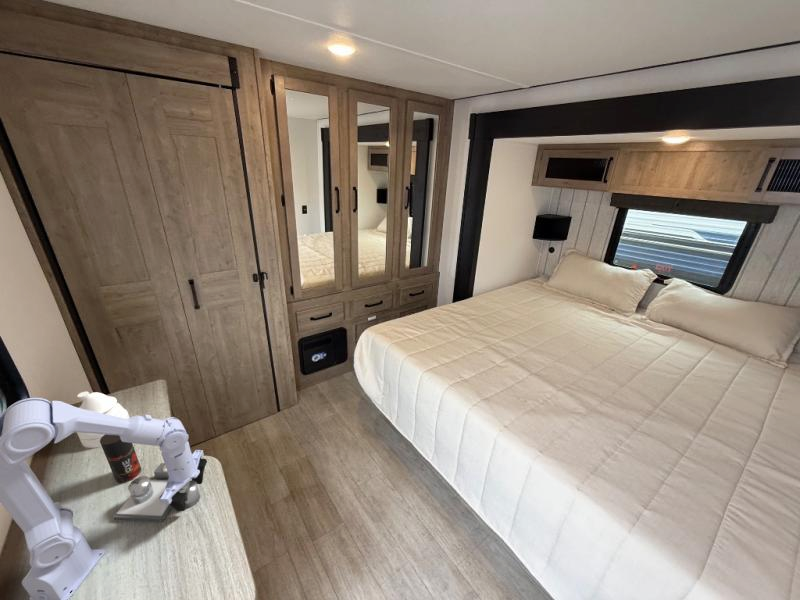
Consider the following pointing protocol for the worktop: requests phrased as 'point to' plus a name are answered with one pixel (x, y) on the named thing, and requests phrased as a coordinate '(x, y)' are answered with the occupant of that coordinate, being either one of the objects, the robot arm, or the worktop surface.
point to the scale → (148, 502)
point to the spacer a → (140, 489)
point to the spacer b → (190, 493)
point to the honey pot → (100, 405)
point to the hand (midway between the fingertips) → (190, 495)
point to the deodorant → (120, 458)
